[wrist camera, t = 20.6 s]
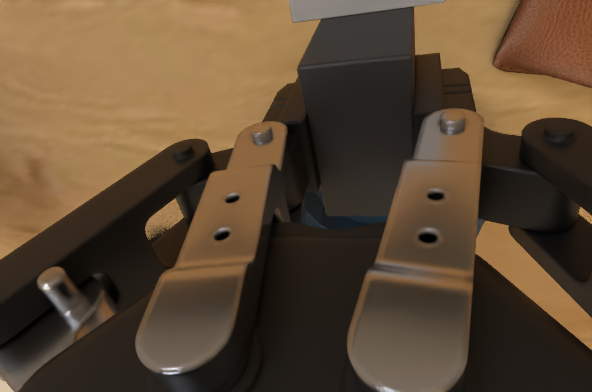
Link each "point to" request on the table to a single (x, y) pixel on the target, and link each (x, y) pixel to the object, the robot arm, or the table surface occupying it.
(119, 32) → the table surface
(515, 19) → the sunglasses case
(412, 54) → the dark square-edged block
